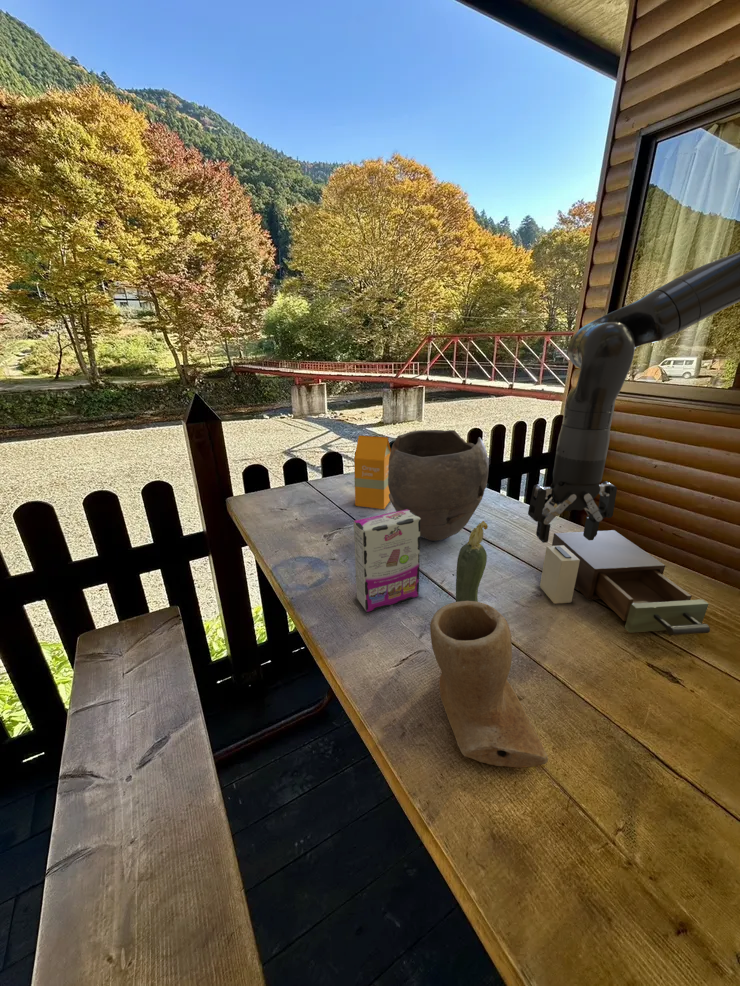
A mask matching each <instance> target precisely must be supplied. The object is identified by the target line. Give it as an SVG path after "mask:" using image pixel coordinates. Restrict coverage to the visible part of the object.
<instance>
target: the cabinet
mask: <svg viewBox="0 0 740 986" xmlns="http://www.w3.org/2000/svg"><path fill="white" fill-rule="evenodd" d="M583 532H584V531H568V532H554V533H553V538H552V543H551V546H561V545H564V546H565V547H566V548H567V549H568V550H569V551H570V552H572V553H573V554H574V555H575V556H576V557H577V558H578V559H579V560H580V562H579V567H578V572H577V577H576V582H575V587H574V588H576V589H577V590H578V591H579V592H580V594H582V595H583V596H584V597H585V598H586V599H587V601H592V600H602V599H601V598H600V597H599V596H598V595H597V594H596V593H595V592H594V589H595V584H596V580H597V575H598V573H601V572H619V571H637V570H657V571H658V572H660V573H661V574H662V575H664V572H665V568H666V564H664V563H663V562H661V561H660V560H658V559H657V558H656V557H654V556H652V555H651V554H650V553H648V552H647V551H645V550H644V549H642V548H641V547H640V546H638V545H637V544H635V543H634V542H633V541H631V540H629V539H628V538H626V537H625V536H624V535H622V534H620V533H619V532H618V531H616V530H615V529H611V530H598V531H597V535H596V537H594V540H588V539H586V538H585V537H584V536H583Z"/></svg>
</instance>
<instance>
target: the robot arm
mask: <svg viewBox="0 0 740 986" xmlns="http://www.w3.org/2000/svg"><path fill="white" fill-rule="evenodd" d="M739 302H740V251H738V252H735V253H733V254H730V255H726V256H724V257H721V258H719V259H716V260H714V261H711V262H708V263H706V264H703V265H701V266H699V267H696V268H694V269H692V270H690V271H688V272H685V273H684V274H682V275H679V276H678V277H676V278H674V279H672V280H671V281H669V282H667V283H666V284H663V285H662V286H659V287H658V288H656V289H654V290H653V291H651V292H649V293H648V294H646V295H645V296H643V297H641V298H640V299H637V300H636V301H634V302H632V303H629V304H627V305H625V306H623V307H620V308H618V309H616V310H614V311H611V312H609V313H607V314H605V315H602V316H601V317H598V318H596V319H594V320H593V321H590V322H589V323H587V324H585V325H583V326H582V327H581V328H580V329H578V330H577V331H576V332H575V333H574V334H573V336H572V337H571V339H570V340H569V343H568V346H567V355H568V359H569V360H570V362H571V364H573V365H574V366H575V367H576V368H578V369H580V370H579V375H578V378H577V383H576V386H575V388H573V389H571V390H570V391H569V392H568V394H567V396H566V399H565V404H564V411H563V417H562V423H561V427H560V431H559V434H558V437H557V438H558V439H557V444H556V449H555V450H556V451H555V457H554V464H553V470H552V483H550V486H541V485H540V484H534V485H533V487H532V491H531V496H530V502H529V507H528V512H527V515H528V516H529V518H531V519H532V520H533V521H534V522H536V523H537V526H536V532H535V535H536V538H538V540H539V541H540V542H541V543H546V544H547V543H548V542H549V538H550V530H551V524H550V523H551V522H552V521H553V520H554V519H555V518H556V517H559V516H561V514H562V513H563V512H564V511H565V512H571V511H574V510H575V511H583V510H584V511H585V512H586V514H587V516H586V517H585V522H584V527H583V531H582V532H583V536H584V537H585V538H586V539H588V540H594V537H596V535H597V531H599V526H600V522H602V521H603V519H606V518H607V519H611V518H612V517H613V516H614V510H615V504H616V498H617V493H618V487H617V486H616V485H614V484H612V483H610V482H608V481H603V476H604V471H605V467H606V462H607V456H608V452H609V447H610V439H611V427H612V422H613V416H614V411H615V408H616V407H615V406H616V400H617V398H618V396H619V394H620V393H621V390H622V388H623V386H624V383H625V381H626V379H627V376H628V374H629V372H630V369H631V366H632V364H633V360H634V357H635V350H636V348H638V347H641V346H643V345H647V344H654V343H658V342H661V341H664V340H666V339H668V338H671V337H673V336H674V335H676V334H678V333H680V332H682V331H684V330H686V329H687V328H690V327H691V326H694V325H696V324H697V323H699V322H701V321H703V320H705V319H707V318H709V317H711V316H712V315H714V314H717V313H718V312H721V311H723V310H724V309H727V308H729V307H731V306H733V305H736V304H737V303H739ZM601 482H602V483H601ZM600 483H601V484H600ZM549 495H550V498H549ZM598 495H599V501H598V505H597V504H596V502H595V500H594V499H595V498H597V496H598ZM548 498H549V499H548ZM546 500H547V501H546ZM555 505H556V506H555ZM554 506H555V507H554Z"/></svg>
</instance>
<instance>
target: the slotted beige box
mask: <svg viewBox="0 0 740 986" xmlns="http://www.w3.org/2000/svg"><path fill="white" fill-rule="evenodd" d="M545 547H546V548H545V553H544V559H543V566H542V571H541V577H540V584H539V588H540V589H541V590H542V592H544V594H546V596H547V597H548V598H549V600H550V601H551V602H552V603H553V604H567V603H568V604H570V603H572V602H573V597H574V591H575V588H576V587H575V582H576V577H577V572H578V567H579V562H580V560H579V559H578V558H577V557H576V556H575V555H574V554H573V553H572V552H570V551H569V550H568V549H567V548H566V547H565V546H564V545H561V546H552V545H546V546H545Z"/></svg>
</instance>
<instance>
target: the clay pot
mask: <svg viewBox="0 0 740 986" xmlns="http://www.w3.org/2000/svg"><path fill="white" fill-rule="evenodd" d="M485 445H486V444H485V443H484V442H483V440H482V438H481V437H480V436H479V437H478V438H477V442H476V444H475V443H472V442H467V441H466V440H465V439H464V438H462V436H461V435H460V434H459V433H458V432H456V430H453V429H449V430H443V429H442V430H441V429H427V430H426V429H423V430H422V429H421V430H420V429H419V430H412V431H409V432H406V433H403V434H399V435H396V438H395V440H394V442H393V443H392V445H391V447H390V449H391V453H390V457H389V466H388V470H389V472H388V487H389V491H390V494H389V499H390V503H391V505H392V507H393V509H394V510H395V512H397V511H402V510H406V509H408V510H410V511H411V512H412V513H414V514H415V515H417V516H418V517H420V518H421V519H420V538H423V539H425V540H428V541H430V542H433V541H436V542H437V541H442V540H446V539H448V538H450V537H452V536H455V535H457V534H458V533H460V532H461V531H462V530H463V528H464V527H466V526H467V524H468V523H469V522H470V519H471V518H472V517H473V515H474V514H475V512H476V511H477V508H478V507H479V506H480V504H481V502H482V500H483V498H484V494H485V490H486V488H487V486H488V485H487V484H488V478H489V472H490V471H489V468H490V466H489V465H490V463H489V457H488V452H487V449H486V446H485Z"/></svg>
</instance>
